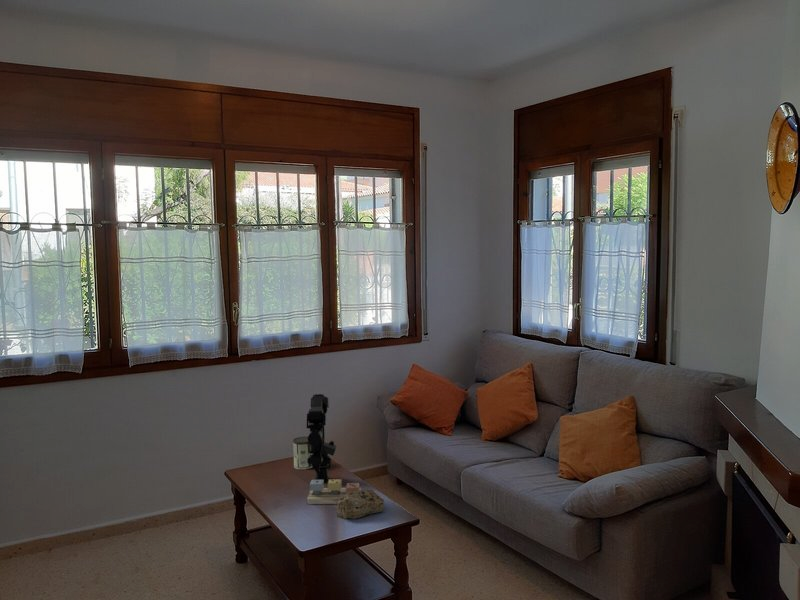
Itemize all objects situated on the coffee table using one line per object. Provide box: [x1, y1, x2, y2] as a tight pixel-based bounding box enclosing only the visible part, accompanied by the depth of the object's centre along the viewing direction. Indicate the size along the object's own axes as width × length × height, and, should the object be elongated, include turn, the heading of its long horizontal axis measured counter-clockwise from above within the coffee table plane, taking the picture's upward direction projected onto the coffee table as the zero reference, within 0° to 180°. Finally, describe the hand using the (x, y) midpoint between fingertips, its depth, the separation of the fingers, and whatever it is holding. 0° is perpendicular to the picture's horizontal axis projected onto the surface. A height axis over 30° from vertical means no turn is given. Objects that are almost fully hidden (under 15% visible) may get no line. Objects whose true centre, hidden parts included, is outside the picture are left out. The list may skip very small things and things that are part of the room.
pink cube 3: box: [345, 482, 360, 493], centre depth 290 cm, size 6×6×6 cm
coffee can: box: [292, 436, 313, 470], centre depth 333 cm, size 10×10×14 cm
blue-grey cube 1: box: [309, 479, 325, 495], centre depth 290 cm, size 6×6×6 cm
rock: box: [336, 489, 386, 520], centre depth 275 cm, size 21×14×10 cm
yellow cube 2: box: [327, 478, 343, 495], centre depth 290 cm, size 6×6×6 cm
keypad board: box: [306, 487, 363, 505], centre depth 290 cm, size 12×23×2 cm, turn 89°
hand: (317, 472), depth 289 cm, fingers closed
